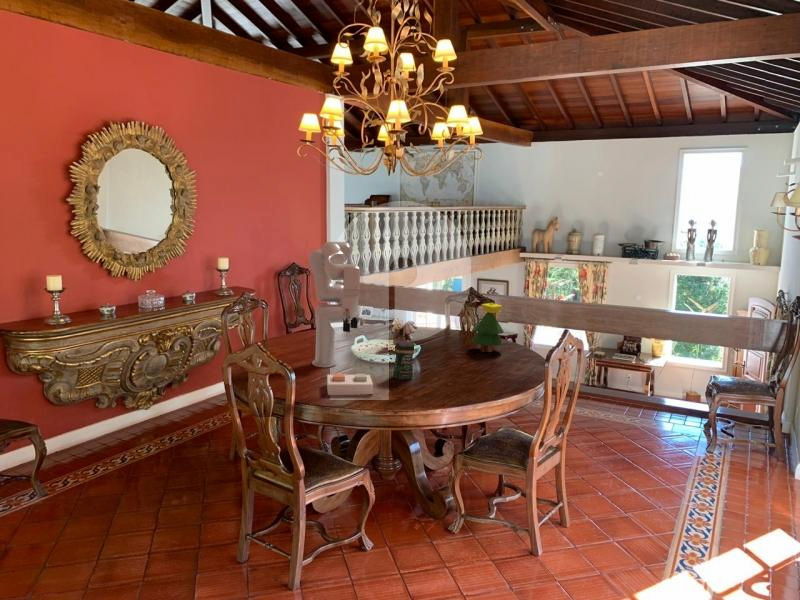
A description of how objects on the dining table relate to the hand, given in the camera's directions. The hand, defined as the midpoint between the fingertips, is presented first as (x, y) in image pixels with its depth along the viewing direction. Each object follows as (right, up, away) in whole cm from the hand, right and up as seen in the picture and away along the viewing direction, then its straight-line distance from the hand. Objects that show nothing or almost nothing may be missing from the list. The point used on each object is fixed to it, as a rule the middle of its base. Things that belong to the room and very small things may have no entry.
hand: (350, 329), depth 273 cm
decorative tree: (+74, -17, +82) cm, 112 cm away
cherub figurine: (+25, -15, +77) cm, 82 cm away
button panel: (0, -28, 0) cm, 28 cm away
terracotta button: (-5, -24, -1) cm, 24 cm away
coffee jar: (+24, -25, +22) cm, 41 cm away
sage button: (+5, -24, 0) cm, 25 cm away
